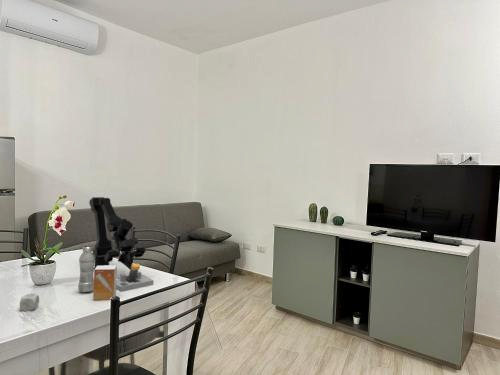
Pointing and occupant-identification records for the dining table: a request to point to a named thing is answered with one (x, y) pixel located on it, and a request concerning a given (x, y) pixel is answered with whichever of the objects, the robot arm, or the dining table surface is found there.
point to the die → (29, 302)
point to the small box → (104, 282)
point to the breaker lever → (133, 273)
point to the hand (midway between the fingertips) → (131, 269)
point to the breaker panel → (139, 282)
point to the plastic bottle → (86, 270)
